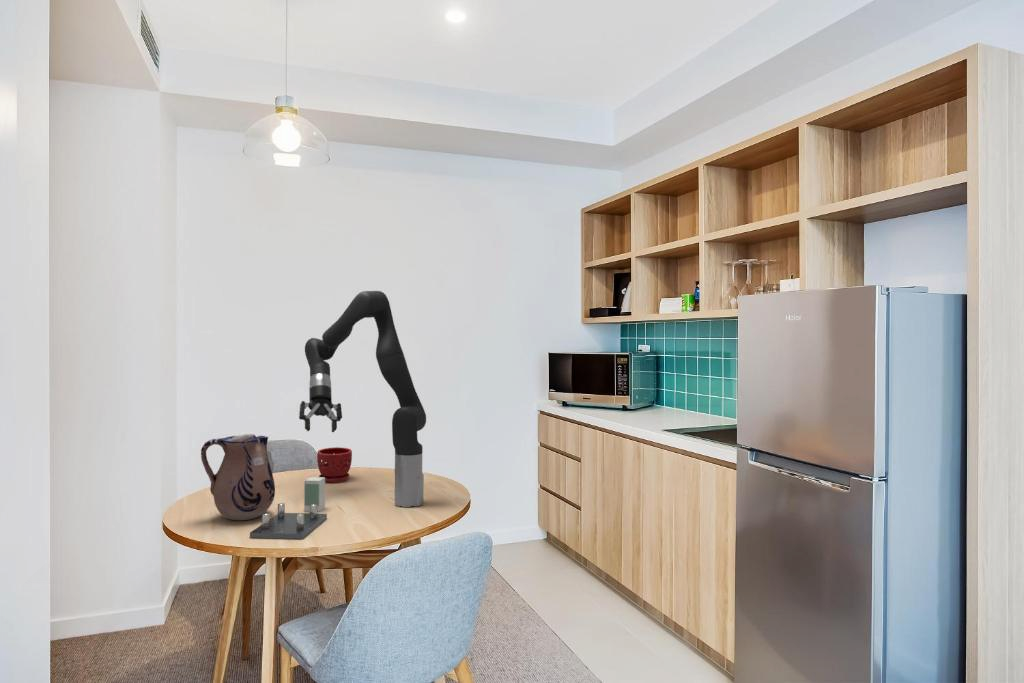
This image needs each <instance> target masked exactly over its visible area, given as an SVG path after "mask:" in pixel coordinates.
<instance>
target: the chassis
mask: <svg viewBox="0 0 1024 683" xmlns="http://www.w3.org/2000/svg"><path fill="white" fill-rule="evenodd" d="M285 504H286V503H283V502H282V503H277V514H276V515H274V516H273V517H271V513H270V512H265V513H263V514H262V515H261V518H262V520H261V523H262V524H260V525H259V526H257V528H254V529H253V530H252V531H250V532H249V538H250V539H269V538H273V539H275V540H276V539H278V540H279V539H281V540H283V539H284V540H304V538H306V537H308V536H309V535H310V534H311V533H312V532H313V531H314V530H316V529H317V528H318V527H319V526H320V525H321V524H323V523H324V522H325V521H326V520H327V519H328V514H327V513H318V512H317V504H311V505H310V512H307V513H306V512H305V513H304V512H303V513H301V512H300V513H299V512H298V513H297V512H286V507H285V506H286V505H285ZM270 517H271V518H270ZM310 532H311V533H310Z"/></svg>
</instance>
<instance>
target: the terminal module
mask: <svg viewBox="0 0 1024 683" xmlns="http://www.w3.org/2000/svg"><path fill="white" fill-rule="evenodd" d="M303 485H304V486H303V487H304V490H303V491H304V495H303V499H304V500H303V501H304V502H303V504H304V505H303V507H304V508H303V512H307V511H310V505H311V504H317V511H320V512H321V511H323V510H324V509H325V508H326V503H325V502H326V482H325V477H319V476H310V477H307V478H306V479H304V483H303ZM324 507H325V508H324ZM323 508H324V509H323Z"/></svg>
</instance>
